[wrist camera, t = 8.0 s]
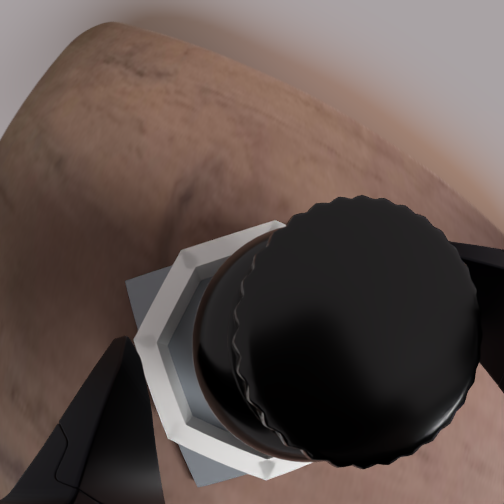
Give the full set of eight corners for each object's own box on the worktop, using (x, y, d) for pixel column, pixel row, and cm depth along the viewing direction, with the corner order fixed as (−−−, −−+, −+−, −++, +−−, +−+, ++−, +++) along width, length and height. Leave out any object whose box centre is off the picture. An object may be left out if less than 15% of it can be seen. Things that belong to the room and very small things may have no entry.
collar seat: (396, 403, 16) (424, 408, 13) (198, 483, 14) (192, 505, 11) (322, 220, 19) (336, 195, 16) (128, 283, 17) (109, 267, 14)
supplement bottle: (224, 426, 14) (207, 560, 3) (199, 299, 17) (134, 170, 5) (351, 396, 15) (529, 424, 4) (324, 276, 17) (450, 140, 6)
